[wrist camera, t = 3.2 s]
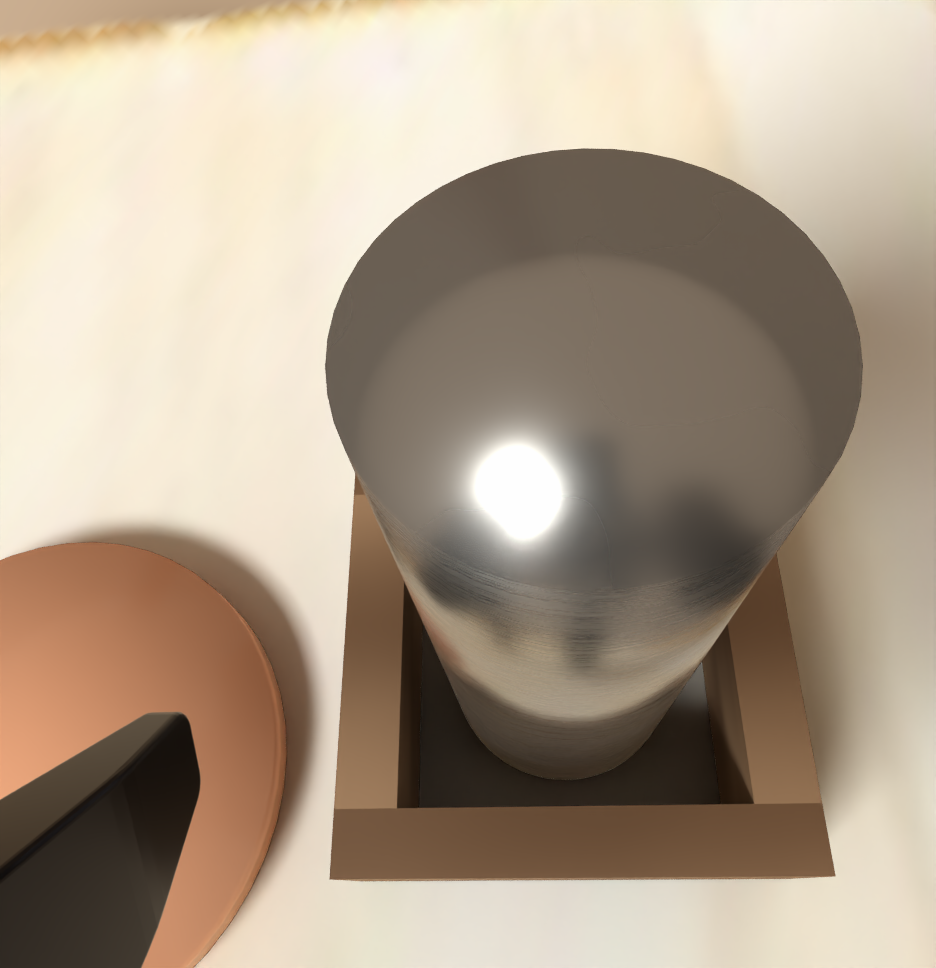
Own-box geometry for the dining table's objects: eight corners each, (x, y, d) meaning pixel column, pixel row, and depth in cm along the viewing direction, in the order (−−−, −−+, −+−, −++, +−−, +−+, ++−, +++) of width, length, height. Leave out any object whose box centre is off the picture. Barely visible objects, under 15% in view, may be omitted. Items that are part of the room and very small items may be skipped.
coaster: (-6, 1201, 16) (-39, 1220, 15) (-263, 805, 20) (-301, 801, 19) (384, 746, 19) (376, 738, 18) (98, 481, 23) (79, 464, 22)
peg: (580, 830, 18) (649, 715, 6) (412, 682, 20) (219, 377, 8) (710, 654, 19) (963, 295, 8) (543, 531, 21) (542, 86, 9)
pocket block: (789, 878, 17) (834, 876, 14) (362, 880, 18) (329, 879, 15) (726, 489, 21) (753, 430, 18) (380, 502, 22) (357, 448, 19)
